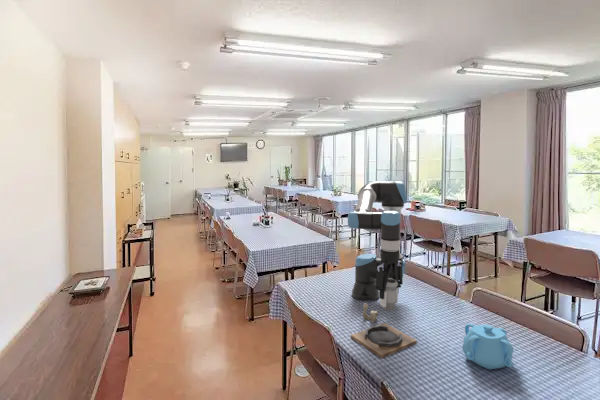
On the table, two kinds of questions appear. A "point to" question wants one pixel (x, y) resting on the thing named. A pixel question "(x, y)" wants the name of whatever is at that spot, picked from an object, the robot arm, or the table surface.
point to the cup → (391, 294)
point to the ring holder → (383, 339)
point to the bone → (372, 313)
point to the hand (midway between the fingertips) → (388, 303)
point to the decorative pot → (487, 346)
